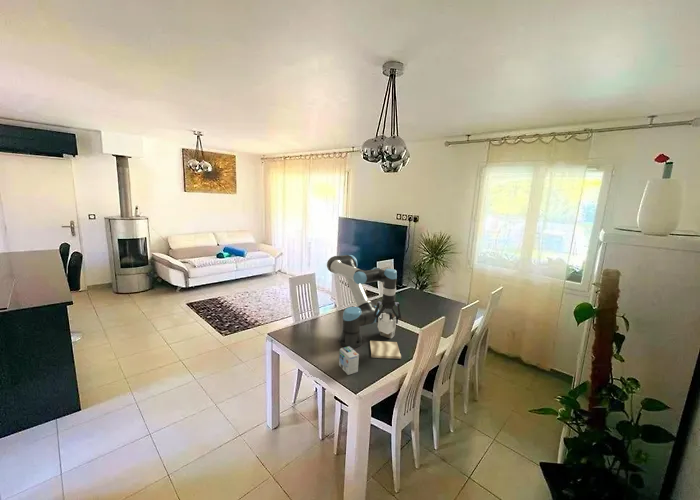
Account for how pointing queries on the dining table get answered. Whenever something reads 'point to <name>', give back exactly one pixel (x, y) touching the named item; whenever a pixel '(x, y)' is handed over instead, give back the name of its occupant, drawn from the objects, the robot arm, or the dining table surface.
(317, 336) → the dining table surface
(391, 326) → the medicine bottle
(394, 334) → the coffee box
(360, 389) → the dining table surface
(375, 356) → the birch board
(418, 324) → the dining table surface
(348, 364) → the light bulb box
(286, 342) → the dining table surface
